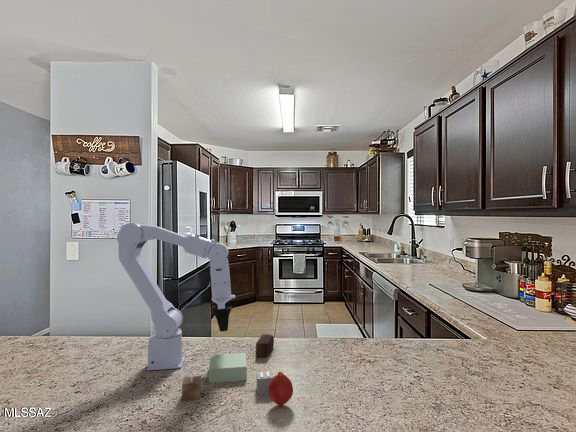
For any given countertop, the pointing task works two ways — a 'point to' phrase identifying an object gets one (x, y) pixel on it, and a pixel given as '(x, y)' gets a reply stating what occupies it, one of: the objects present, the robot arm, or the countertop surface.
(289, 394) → the onion
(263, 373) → the slate numbered block
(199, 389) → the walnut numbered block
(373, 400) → the countertop surface
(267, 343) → the brick
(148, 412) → the countertop surface
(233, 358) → the sage block
